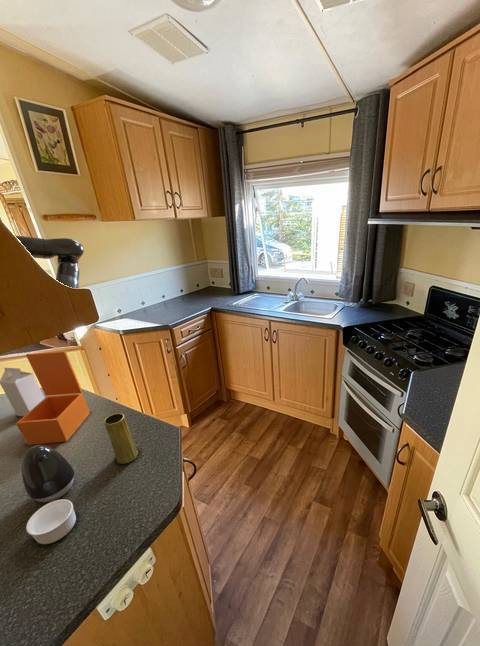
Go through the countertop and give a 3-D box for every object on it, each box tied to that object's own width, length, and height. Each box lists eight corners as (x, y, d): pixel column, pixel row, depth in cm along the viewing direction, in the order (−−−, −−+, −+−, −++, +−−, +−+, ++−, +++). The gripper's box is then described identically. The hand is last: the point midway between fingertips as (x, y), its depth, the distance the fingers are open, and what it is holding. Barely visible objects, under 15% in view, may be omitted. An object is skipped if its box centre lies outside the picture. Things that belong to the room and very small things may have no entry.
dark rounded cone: (45, 516, 71) (18, 470, 64) (26, 498, 76) (-1, 454, 69) (86, 485, 78) (66, 442, 72) (67, 471, 83) (46, 429, 77)
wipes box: (67, 441, 95) (57, 419, 91) (27, 444, 95) (15, 423, 91) (90, 413, 109) (82, 393, 105) (55, 416, 109) (46, 396, 105)
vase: (130, 465, 84) (116, 426, 78) (111, 463, 85) (96, 424, 79) (142, 450, 90) (130, 412, 83) (124, 448, 91) (111, 411, 85)
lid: (64, 352, 97) (65, 351, 98) (25, 354, 97) (27, 353, 98) (81, 393, 105) (82, 391, 106) (45, 395, 104) (47, 394, 105)
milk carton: (34, 405, 116) (13, 363, 108) (48, 406, 115) (28, 363, 106) (17, 416, 110) (-7, 372, 102) (32, 417, 109) (9, 373, 100)
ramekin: (29, 530, 67) (21, 518, 66) (72, 504, 73) (66, 492, 71) (39, 556, 62) (31, 543, 60) (84, 525, 68) (78, 513, 66)
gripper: (41, 286, 107) (35, 331, 102) (74, 282, 105) (69, 327, 101) (58, 296, 114) (52, 337, 110) (89, 292, 113) (85, 334, 108)
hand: (61, 332), depth 105 cm, fingers closed
